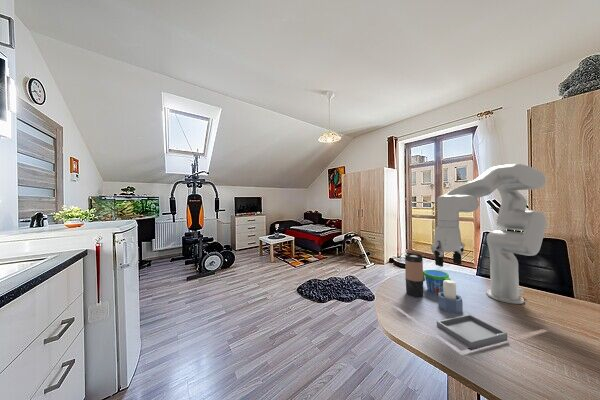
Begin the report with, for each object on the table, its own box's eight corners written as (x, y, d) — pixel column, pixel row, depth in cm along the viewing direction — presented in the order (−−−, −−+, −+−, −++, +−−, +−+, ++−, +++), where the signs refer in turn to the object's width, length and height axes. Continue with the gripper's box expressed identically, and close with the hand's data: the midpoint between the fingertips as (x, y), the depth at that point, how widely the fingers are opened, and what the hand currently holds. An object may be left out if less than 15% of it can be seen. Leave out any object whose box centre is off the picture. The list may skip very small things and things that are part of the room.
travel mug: (426, 300, 98) (425, 257, 98) (408, 299, 99) (407, 257, 99) (420, 293, 105) (419, 253, 105) (403, 292, 107) (403, 253, 107)
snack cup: (415, 288, 111) (415, 268, 111) (432, 285, 114) (431, 267, 114) (441, 301, 96) (440, 279, 96) (459, 298, 98) (459, 277, 98)
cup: (448, 304, 94) (448, 290, 94) (467, 313, 86) (466, 299, 86) (434, 307, 92) (433, 293, 92) (451, 316, 84) (451, 301, 84)
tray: (469, 320, 81) (469, 314, 81) (507, 340, 69) (507, 333, 69) (436, 327, 77) (436, 321, 77) (471, 350, 65) (470, 342, 65)
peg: (449, 304, 91) (448, 279, 91) (459, 309, 87) (458, 283, 87) (441, 306, 90) (440, 280, 90) (451, 311, 86) (450, 284, 86)
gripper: (455, 222, 95) (455, 260, 94) (424, 224, 90) (424, 263, 90) (472, 224, 87) (473, 265, 87) (439, 226, 83) (440, 269, 83)
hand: (448, 264), depth 89 cm, fingers open, 9 cm apart
